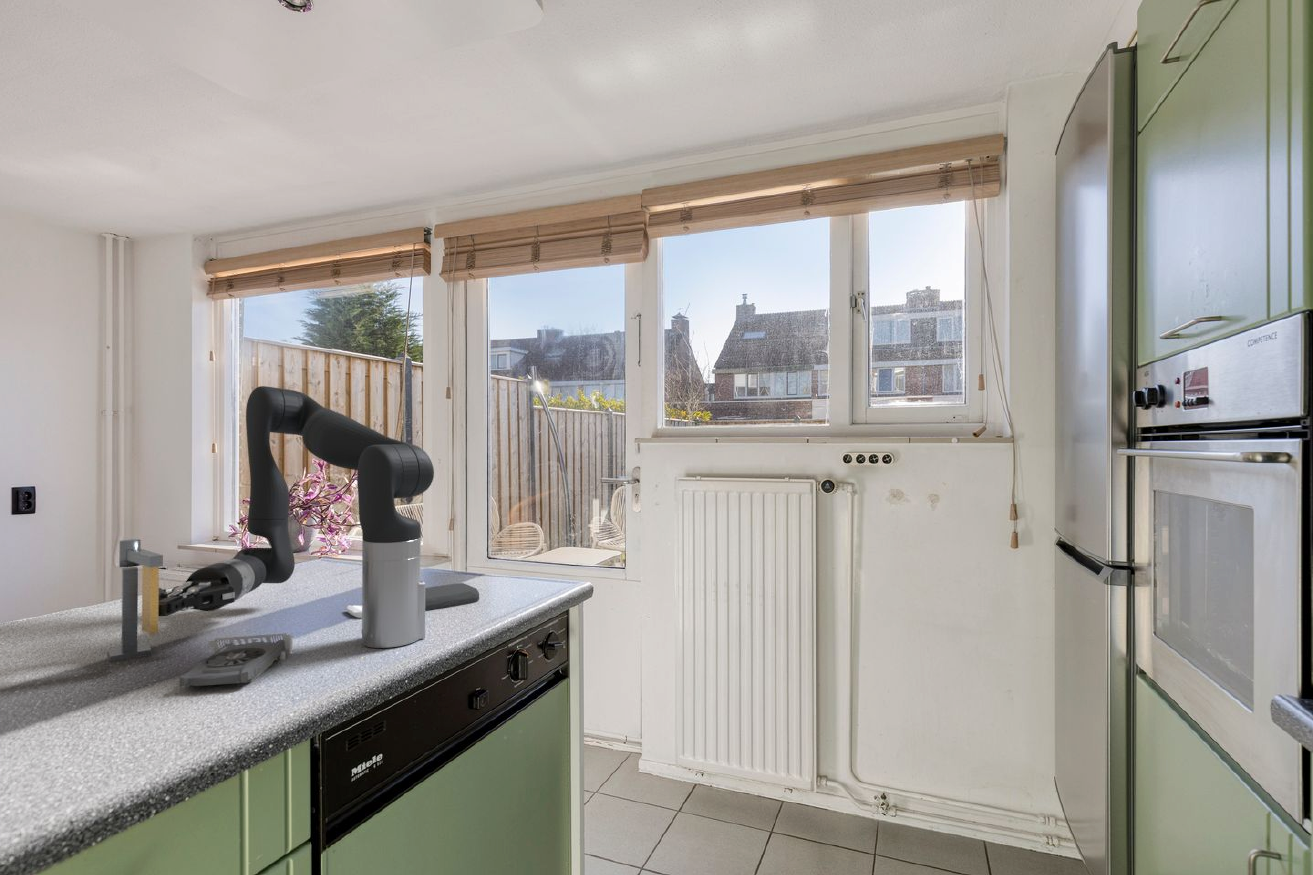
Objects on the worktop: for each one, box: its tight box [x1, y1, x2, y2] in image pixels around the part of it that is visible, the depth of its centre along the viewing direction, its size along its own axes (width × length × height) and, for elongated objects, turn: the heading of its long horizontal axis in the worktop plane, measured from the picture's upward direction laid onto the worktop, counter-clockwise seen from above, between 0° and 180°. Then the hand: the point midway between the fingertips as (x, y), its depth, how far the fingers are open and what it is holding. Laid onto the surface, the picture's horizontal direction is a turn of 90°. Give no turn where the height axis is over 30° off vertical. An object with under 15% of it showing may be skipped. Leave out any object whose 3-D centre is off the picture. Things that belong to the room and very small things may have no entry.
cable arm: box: [118, 538, 164, 635], centre depth 100 cm, size 13×3×13 cm, turn 54°
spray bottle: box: [345, 582, 480, 619], centre depth 134 cm, size 3×11×24 cm
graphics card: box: [179, 632, 293, 688], centre depth 96 cm, size 17×4×12 cm
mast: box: [106, 566, 152, 663], centre depth 103 cm, size 5×5×14 cm
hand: (160, 609), depth 98 cm, fingers closed
